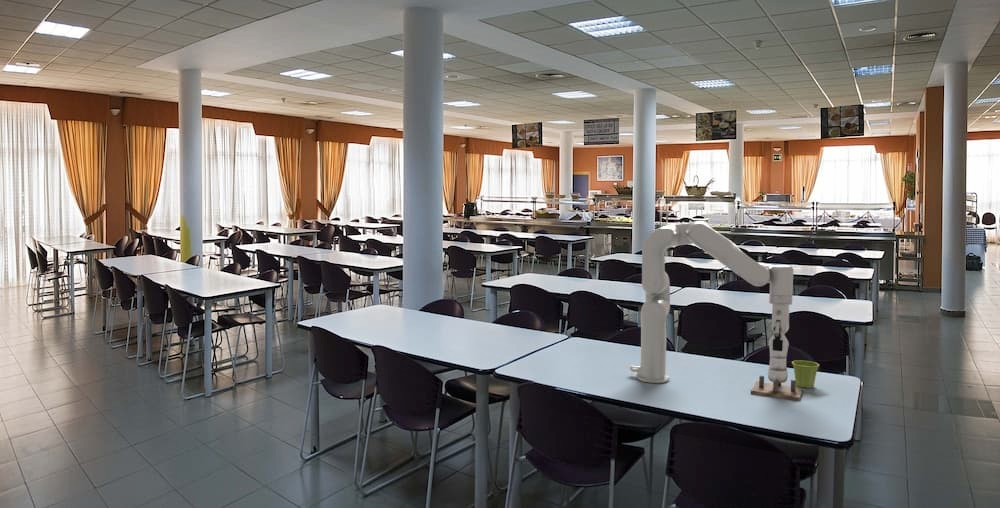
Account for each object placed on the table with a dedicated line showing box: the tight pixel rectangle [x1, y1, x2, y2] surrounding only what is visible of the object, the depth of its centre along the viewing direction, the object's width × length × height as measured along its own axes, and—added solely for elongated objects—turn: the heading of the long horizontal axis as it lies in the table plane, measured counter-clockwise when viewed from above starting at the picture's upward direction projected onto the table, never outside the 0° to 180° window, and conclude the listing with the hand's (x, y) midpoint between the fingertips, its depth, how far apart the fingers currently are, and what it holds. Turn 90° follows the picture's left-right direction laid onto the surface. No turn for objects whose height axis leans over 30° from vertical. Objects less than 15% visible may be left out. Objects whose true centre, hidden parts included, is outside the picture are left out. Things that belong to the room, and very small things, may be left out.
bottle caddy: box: [750, 375, 804, 402], centre depth 230 cm, size 16×13×5 cm
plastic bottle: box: [767, 330, 790, 384], centre depth 229 cm, size 6×7×20 cm
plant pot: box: [791, 359, 820, 389], centre depth 238 cm, size 9×9×9 cm
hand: (778, 348), depth 228 cm, fingers closed on plastic bottle, 6 cm apart
